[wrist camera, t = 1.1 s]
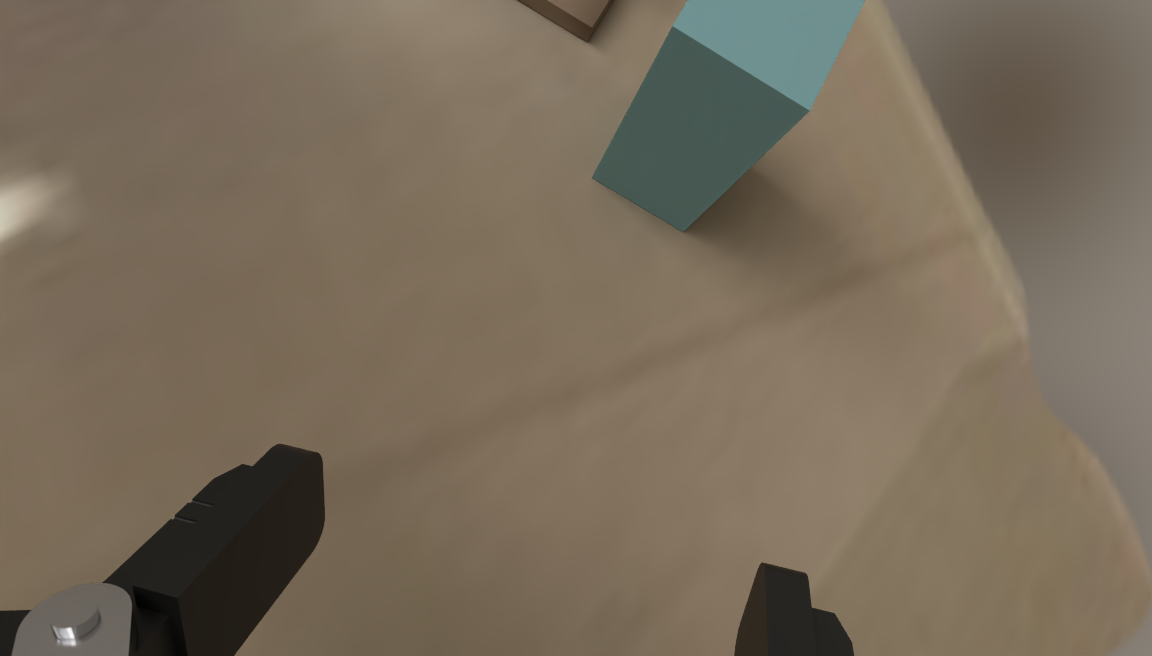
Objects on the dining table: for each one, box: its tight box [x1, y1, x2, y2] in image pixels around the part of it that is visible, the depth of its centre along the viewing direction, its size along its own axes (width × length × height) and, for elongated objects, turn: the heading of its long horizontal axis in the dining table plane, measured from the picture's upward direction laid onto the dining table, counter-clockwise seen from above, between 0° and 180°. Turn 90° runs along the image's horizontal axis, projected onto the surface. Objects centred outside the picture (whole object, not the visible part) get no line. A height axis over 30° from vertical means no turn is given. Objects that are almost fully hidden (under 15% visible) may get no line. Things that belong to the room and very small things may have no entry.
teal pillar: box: [592, 0, 865, 232], centre depth 29 cm, size 5×5×12 cm
